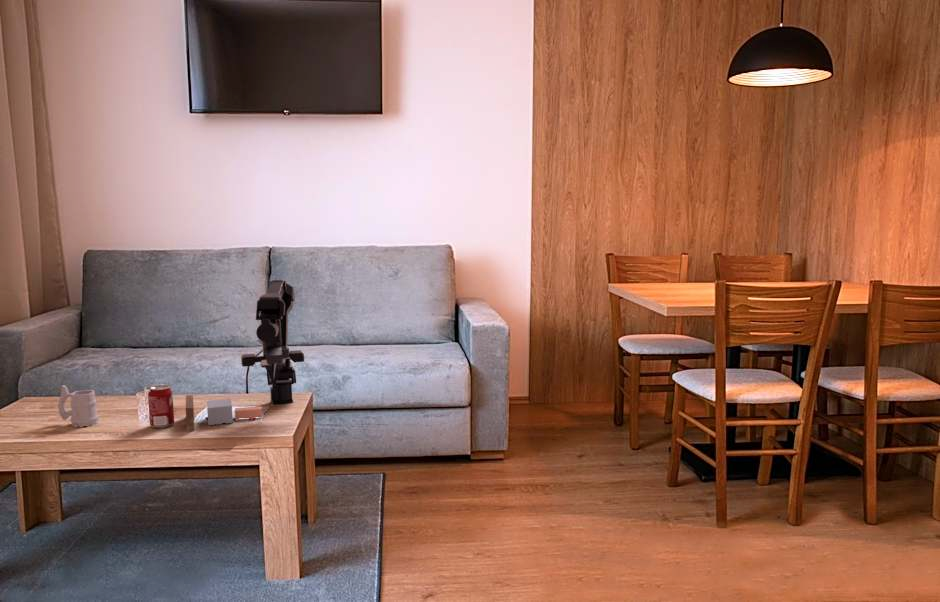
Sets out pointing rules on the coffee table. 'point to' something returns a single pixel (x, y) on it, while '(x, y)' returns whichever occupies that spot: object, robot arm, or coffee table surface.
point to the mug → (79, 407)
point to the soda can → (161, 406)
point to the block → (219, 411)
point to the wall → (189, 413)
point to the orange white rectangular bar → (248, 412)
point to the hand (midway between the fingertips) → (273, 385)
